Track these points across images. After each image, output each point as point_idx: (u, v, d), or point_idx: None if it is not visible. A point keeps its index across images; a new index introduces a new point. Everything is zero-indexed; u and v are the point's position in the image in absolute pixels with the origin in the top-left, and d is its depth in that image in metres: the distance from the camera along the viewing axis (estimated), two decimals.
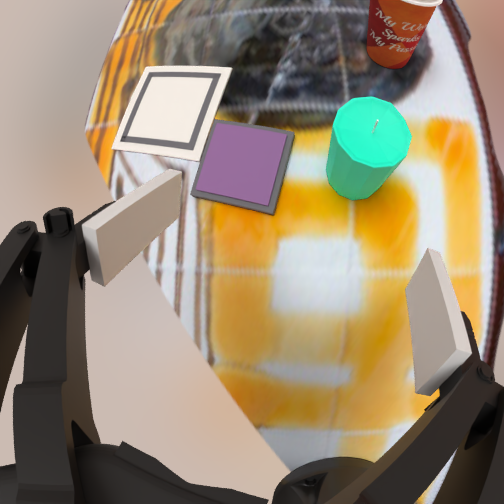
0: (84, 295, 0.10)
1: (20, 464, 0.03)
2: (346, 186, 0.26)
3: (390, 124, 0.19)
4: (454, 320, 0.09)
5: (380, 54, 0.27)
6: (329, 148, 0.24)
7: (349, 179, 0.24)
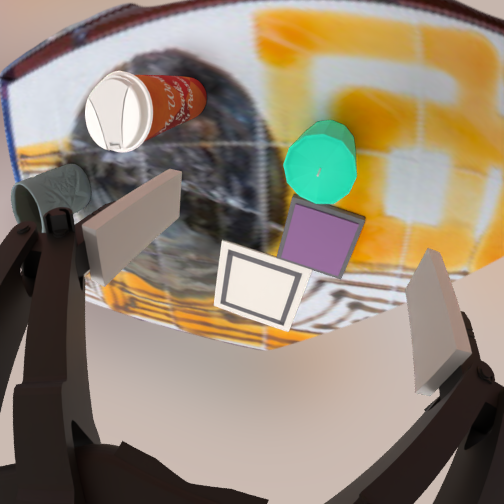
0: (84, 295, 0.10)
1: (20, 464, 0.03)
2: None
3: (310, 150, 0.23)
4: (454, 320, 0.09)
5: (196, 111, 0.32)
6: None
7: None
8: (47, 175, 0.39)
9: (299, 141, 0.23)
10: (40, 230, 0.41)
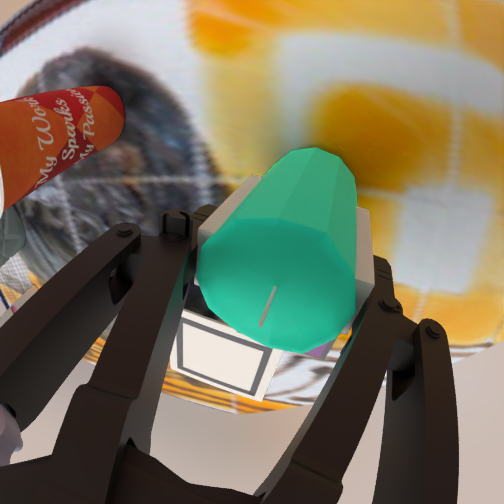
0: (184, 304, 0.11)
1: (54, 463, 0.03)
2: None
3: (251, 249, 0.10)
4: (361, 258, 0.11)
5: (106, 137, 0.20)
6: None
7: None
8: None
9: (223, 232, 0.10)
10: None
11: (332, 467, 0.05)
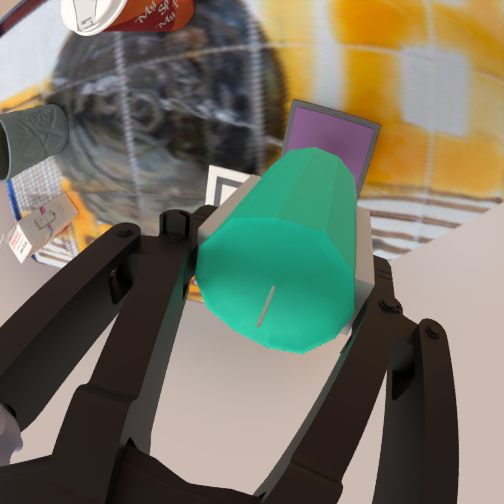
0: (184, 304, 0.11)
1: (54, 463, 0.03)
2: None
3: (250, 249, 0.10)
4: (362, 258, 0.11)
5: (182, 16, 0.24)
6: None
7: None
8: (22, 111, 0.30)
9: (221, 231, 0.10)
10: None
11: (332, 467, 0.05)
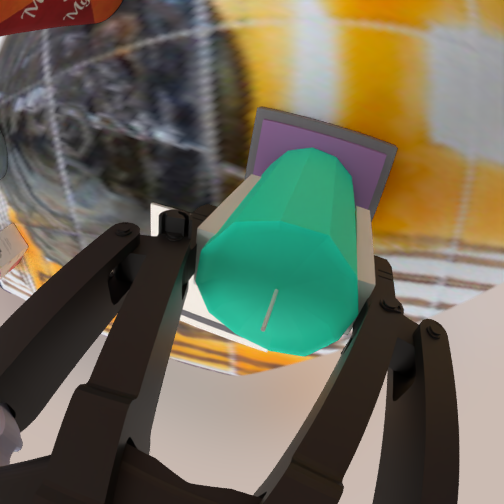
0: (183, 304, 0.11)
1: (54, 463, 0.03)
2: None
3: (252, 252, 0.10)
4: (362, 258, 0.11)
5: None
6: None
7: None
8: None
9: (223, 235, 0.10)
10: None
11: (332, 467, 0.05)
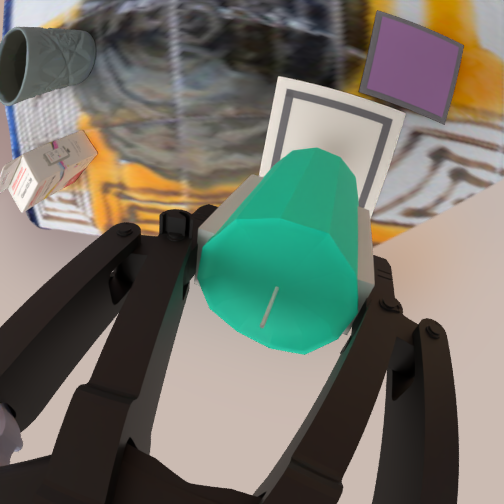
0: (184, 304, 0.11)
1: (54, 463, 0.03)
2: None
3: (253, 250, 0.10)
4: (361, 258, 0.11)
5: None
6: None
7: None
8: None
9: (224, 232, 0.10)
10: None
11: (332, 467, 0.05)
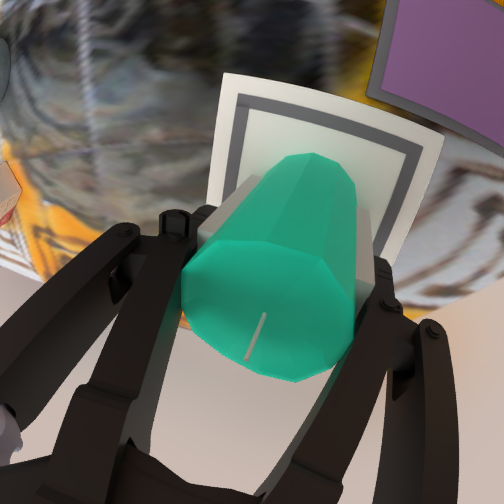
0: None
1: (54, 463, 0.03)
2: None
3: (237, 273, 0.09)
4: (362, 258, 0.11)
5: None
6: None
7: None
8: None
9: (205, 255, 0.09)
10: None
11: (332, 467, 0.05)
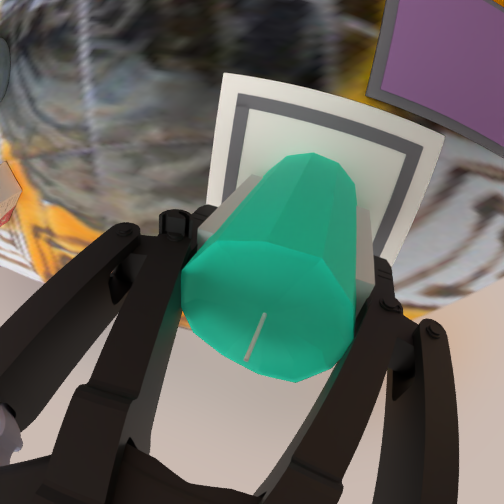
0: None
1: (54, 463, 0.03)
2: None
3: (237, 273, 0.09)
4: (362, 258, 0.11)
5: None
6: None
7: None
8: None
9: (205, 255, 0.09)
10: None
11: (332, 467, 0.05)
